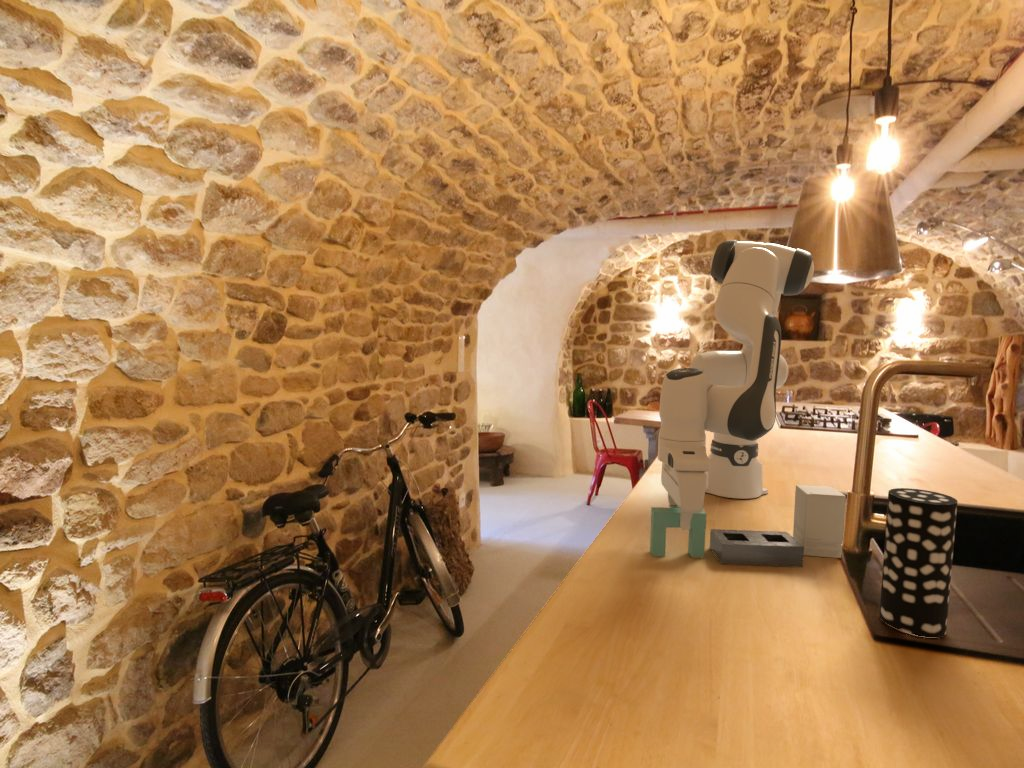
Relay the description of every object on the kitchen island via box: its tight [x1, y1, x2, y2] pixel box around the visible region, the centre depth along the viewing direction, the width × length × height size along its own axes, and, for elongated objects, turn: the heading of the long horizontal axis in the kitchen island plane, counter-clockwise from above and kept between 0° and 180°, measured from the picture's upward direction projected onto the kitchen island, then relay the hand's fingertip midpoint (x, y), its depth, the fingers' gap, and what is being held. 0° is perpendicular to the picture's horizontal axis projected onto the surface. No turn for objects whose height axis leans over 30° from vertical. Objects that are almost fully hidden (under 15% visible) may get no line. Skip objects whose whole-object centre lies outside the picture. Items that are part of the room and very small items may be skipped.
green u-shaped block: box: [649, 506, 707, 558], centre depth 111 cm, size 3×10×9 cm, turn 86°
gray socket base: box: [709, 528, 805, 568], centre depth 110 cm, size 8×15×4 cm, turn 86°
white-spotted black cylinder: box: [879, 487, 958, 638], centre depth 85 cm, size 8×8×20 cm
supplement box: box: [792, 484, 847, 559], centre depth 114 cm, size 7×7×13 cm
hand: (678, 521), depth 111 cm, fingers open, 8 cm apart
